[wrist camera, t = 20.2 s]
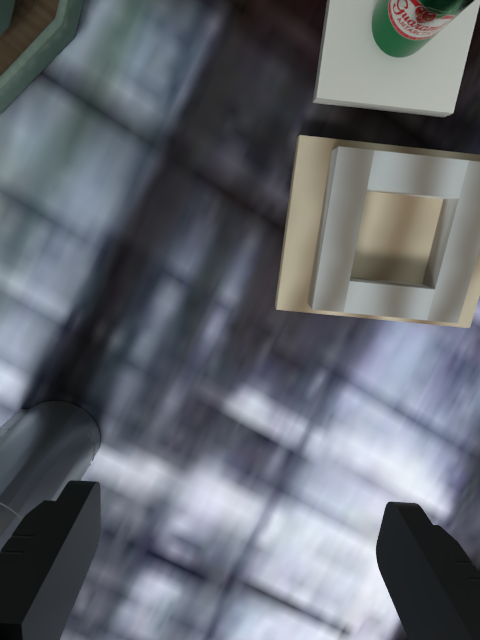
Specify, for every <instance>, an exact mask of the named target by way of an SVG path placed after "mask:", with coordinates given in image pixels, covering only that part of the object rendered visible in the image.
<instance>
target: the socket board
mask: <svg viewBox="0 0 480 640" xmlns="http://www.w3.org/2000/svg"><path fill="white" fill-rule="evenodd" d="M479 296H480V155H477V154H468V153H459V152H450V151H441V150H432V149H423V148H414V147H404V146H395V145H386V144H377V143H368V142H359V141H350V140H341V139H331V138H322V137H313V136H304V135H299V136H298V138H297V142H296V149H295V157H294V165H293V172H292V180H291V187H290V195H289V203H288V210H287V218H286V226H285V233H284V241H283V248H282V256H281V264H280V271H279V279H278V286H277V294H276V302H275V307H276V310H286V311H297V312H307V313H318V314H328V315H339V316H349V317H360V318H370V319H381V320H391V321H402V322H412V323H423V324H433V325H444V326H454V327H465V328H470V326H471V322H472V319H473V316H474V312H475V309H476V306H477V303H478V299H479Z"/></svg>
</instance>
